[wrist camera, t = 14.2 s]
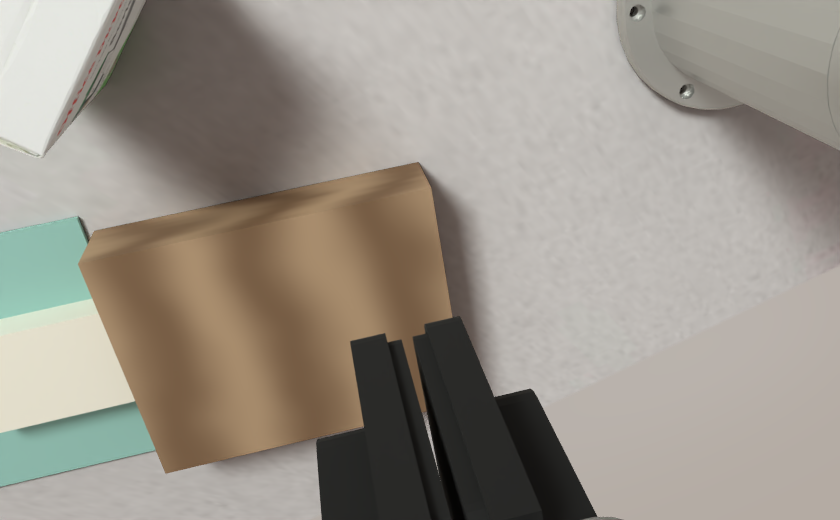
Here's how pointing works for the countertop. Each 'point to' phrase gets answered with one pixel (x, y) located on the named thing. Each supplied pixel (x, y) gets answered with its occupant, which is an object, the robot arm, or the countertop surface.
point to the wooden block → (266, 309)
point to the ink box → (56, 64)
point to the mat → (41, 289)
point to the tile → (57, 366)
